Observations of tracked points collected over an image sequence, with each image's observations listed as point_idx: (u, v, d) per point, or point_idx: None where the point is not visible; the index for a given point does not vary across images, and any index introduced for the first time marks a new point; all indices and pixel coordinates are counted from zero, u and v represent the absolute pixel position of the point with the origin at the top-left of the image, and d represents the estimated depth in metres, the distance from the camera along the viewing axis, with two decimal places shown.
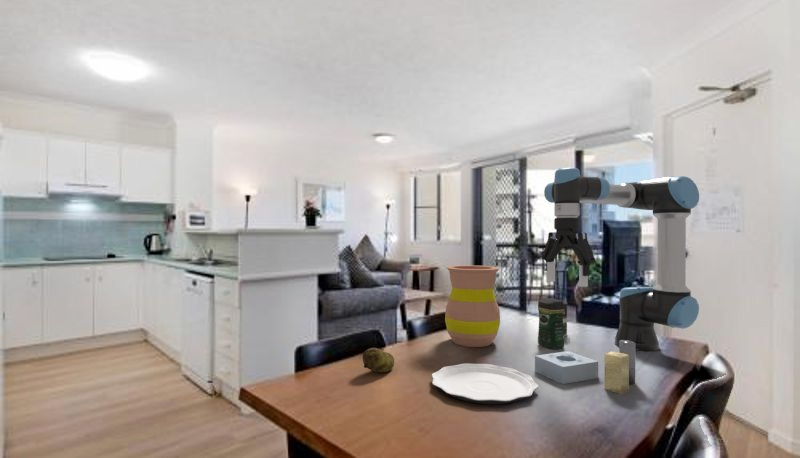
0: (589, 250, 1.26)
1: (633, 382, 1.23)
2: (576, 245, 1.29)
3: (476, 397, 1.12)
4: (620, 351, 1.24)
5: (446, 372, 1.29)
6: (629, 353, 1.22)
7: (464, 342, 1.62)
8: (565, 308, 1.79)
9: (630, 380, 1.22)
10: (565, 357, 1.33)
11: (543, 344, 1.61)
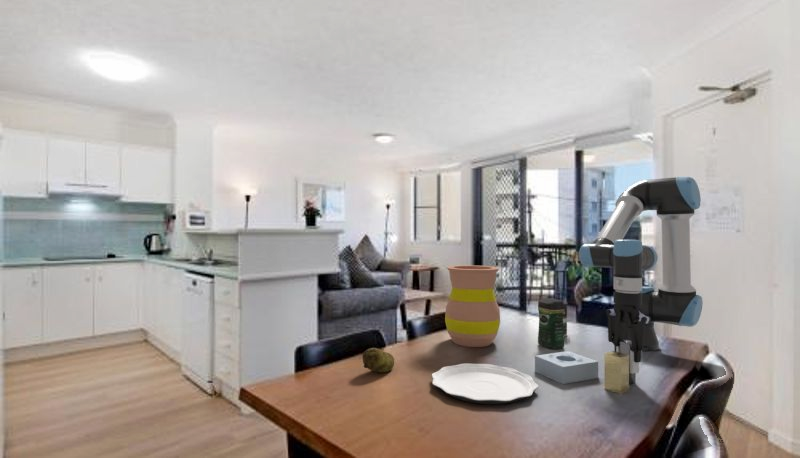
0: (647, 336, 1.19)
1: (633, 382, 1.22)
2: (635, 326, 1.22)
3: (476, 397, 1.12)
4: (620, 351, 1.24)
5: (446, 372, 1.29)
6: (629, 353, 1.22)
7: (464, 342, 1.62)
8: (565, 308, 1.79)
9: (630, 380, 1.22)
10: (565, 357, 1.33)
11: (543, 344, 1.61)
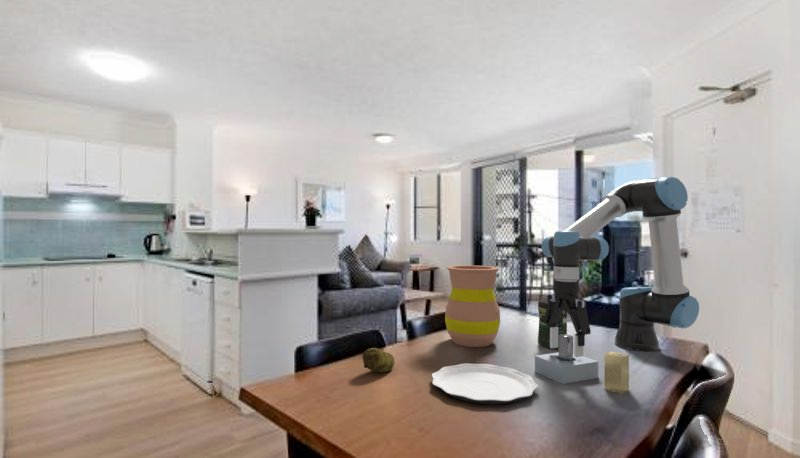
0: (587, 320, 1.24)
1: None
2: (574, 312, 1.28)
3: (476, 397, 1.12)
4: (559, 345, 1.31)
5: (446, 372, 1.29)
6: (566, 346, 1.29)
7: (464, 342, 1.62)
8: None
9: None
10: None
11: (543, 344, 1.61)
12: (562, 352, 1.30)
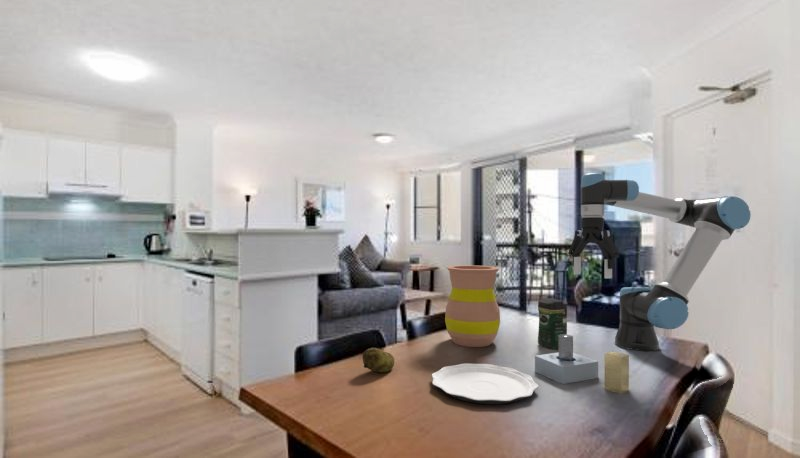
0: (614, 245, 1.43)
1: None
2: (601, 242, 1.46)
3: (476, 397, 1.12)
4: (559, 345, 1.31)
5: (446, 372, 1.29)
6: (566, 346, 1.29)
7: (464, 342, 1.62)
8: (565, 308, 1.79)
9: None
10: None
11: (543, 344, 1.61)
12: (562, 352, 1.30)
